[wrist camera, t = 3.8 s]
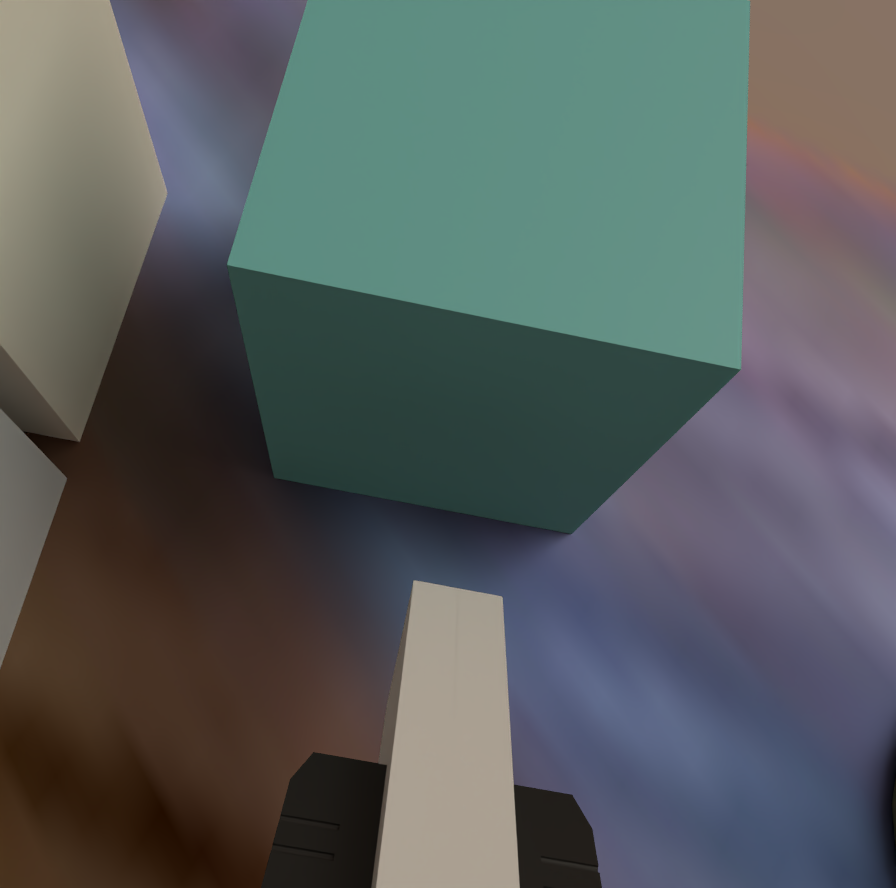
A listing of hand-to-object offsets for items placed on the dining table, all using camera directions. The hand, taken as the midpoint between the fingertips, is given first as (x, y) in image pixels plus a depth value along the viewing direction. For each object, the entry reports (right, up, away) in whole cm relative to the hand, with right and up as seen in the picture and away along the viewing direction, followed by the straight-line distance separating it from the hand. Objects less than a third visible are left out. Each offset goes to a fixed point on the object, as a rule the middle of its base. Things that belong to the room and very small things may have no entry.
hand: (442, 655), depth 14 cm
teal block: (0, +6, +9) cm, 11 cm away
